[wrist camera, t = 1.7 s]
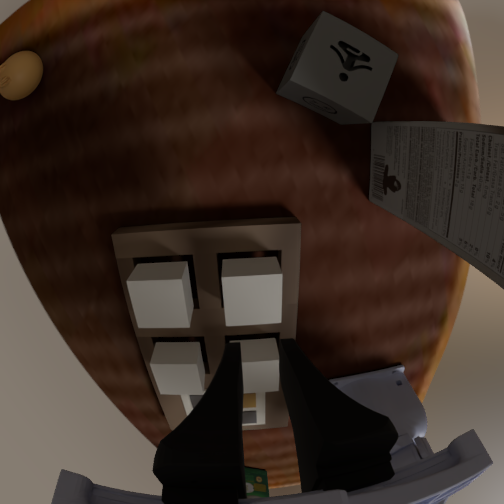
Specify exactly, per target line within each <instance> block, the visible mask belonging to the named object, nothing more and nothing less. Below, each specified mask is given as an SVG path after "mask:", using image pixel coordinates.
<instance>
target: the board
mask: <svg viewBox="0 0 504 504" xmlns="http://www.w3.org/2000/svg"><path fill="white" fill-rule="evenodd" d="M111 236H112V241H113V246H114V251H115V256H116V261H117V265H118V270H119V274H120V278H121V283H122V287H123V291H124V295H125V298H126V302H127V306H128V310H129V313H130V317H131V320H132V324H133V327H134V330H135V334H136V337H137V340H138V343H139V346H140V350H141V353H142V356H143V359H144V361H145V364H146V367H147V370H148V373H149V376H150V378H151V381H152V384H153V386H154V389H155V392H156V394H157V397H158V399H159V402H160V404H161V407H162V409H163V412H164V414H165V416H166V419H167V421H168V423H169V426H170V428H171V430H174V429H175V428H176V427H177V426H178V425H179V424H180V423H181V422H182V421H183V420H184V419H185V418H186V417H187V416H188V415H189V413H190V412H191V411H192V410H193V408H194V407H195V406H196V405H197V403H198V402H199V401H200V399H201V398H202V396H203V395H168V394H160V391H159V389H158V386H157V383H156V380H155V378H154V375H153V372H152V369H151V366H150V361H151V358H152V354H153V351H154V348H155V344H156V342H159V339H158V337H197V336H204V340H205V346H206V352H207V358H208V362H203V364H204V369H205V382H204V393H205V391H206V390H207V388H208V386H209V385H210V383H211V381H212V379H213V377H214V375H215V373H216V371H217V368H218V366H219V364H220V361H221V358H222V356H223V352H224V349H225V344H226V335H245V334H260V333H274V332H277V348H278V353H279V351H280V339H288V338H293V339H294V340H295V339H296V325H297V309H298V292H299V271H300V245H301V223H300V221H299V220H298V219H297V217H280V218H256V219H236V220H217V221H200V222H185V223H170V224H157V225H144V226H131V227H120V228H118V229H117V230H116V231H115V232H114V233H113V234H111ZM266 250H278V263H279V266H280V268H281V271H282V315H281V323H272V324H258V325H242V326H226V320H225V310H224V299H223V297H222V294H221V283H220V271H219V259H218V253H228V252H247V251H266ZM191 254H193V260H194V269H195V277H196V285H197V292H198V298H192V299H193V306H194V307H193V312H192V318H191V323H190V328H138V324H137V321H136V317H135V314H134V310H133V306H132V302H131V298H130V294H129V290H128V286H127V282H126V281H127V279H128V278H129V276H130V275H131V273H132V272H133V270H134V269H135V267H136V266H137V264H141V260H140V257H153V256H172V255H191ZM288 416H289V412H288V409H287V405H286V402H285V398H284V394H283V391H282V387H281V381H280V374H279V391H272V392H260V393H245V394H244V396H243V420H242V430H254V429H267V428H277V427H286V426H287V425H288Z"/></svg>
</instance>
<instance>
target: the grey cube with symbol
mask: <svg viewBox="0 0 504 504" xmlns="http://www.w3.org/2000/svg"><path fill="white" fill-rule="evenodd" d="M397 58H398V54H397V53H395V52H394V51H392V50H391V49H389V48H388V47H386V46H385V45H383V44H382V43H380V42H379V41H377V40H375V39H374V38H372V37H370V36H369V35H367V34H366V33H364V32H362V31H360V30H359V29H357V28H355V27H353V26H352V25H350V24H348V23H346V22H344V21H342V20H340V19H339V18H337V17H335V16H333V15H331V14H329V13H327V12H325V11H322V13H321V14H320V15H319V16H318V17H317V19H316V20H315V21H314V22H313V24H312V25H311V26H310V27H309V29H308V30H307V31H306V33H305V34H304V35H303V36H302V39H301V41H300V43H299V45H298V47H297V49H296V51H295V53H294V55H293V57H292V59H291V62H290V64H289V66H288V68H287V70H286V72H285V74H284V77H283V79H282V81H281V83H280V85H279V87H278V90H277V92H276V94H278V95H280V96H283V97H285V98H287V99H289V100H292V101H294V102H296V103H298V104H300V105H303V106H305V107H307V108H309V109H311V110H313V111H315V112H317V113H319V114H321V115H323V116H325V117H327V118H329V119H331V120H333V121H335V122H337V123H338V124H340V125H344V124H363V123H372V122H373V120H374V117H375V115H376V112H377V110H378V107H379V105H380V102H381V100H382V97H383V95H384V92H385V90H386V87H387V85H388V82H389V79H390V77H391V74H392V72H393V69H394V66H395V64H396V61H397Z"/></svg>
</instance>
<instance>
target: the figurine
mask: <svg viewBox="0 0 504 504" xmlns="http://www.w3.org/2000/svg"><path fill="white" fill-rule="evenodd" d="M42 74H43V64H42V61H41V59H40V57H39V56H38V55H37V54H36V53H34V52H32V51H21V52H18V53H15V54H14V55H12V56H11V57H9V58H8V59H7V60H6V61H5V62H4V63H3V64H2V65H0V93H1V95H2V96H3V97H5V98H6V99H9V100H19V99H22V98H25V97H27V96H28V95H29V94H31V93H32V92H33V91H34V90H35V89H36V87H37V86H38V84H39V83H40V81H41V78H42Z"/></svg>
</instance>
